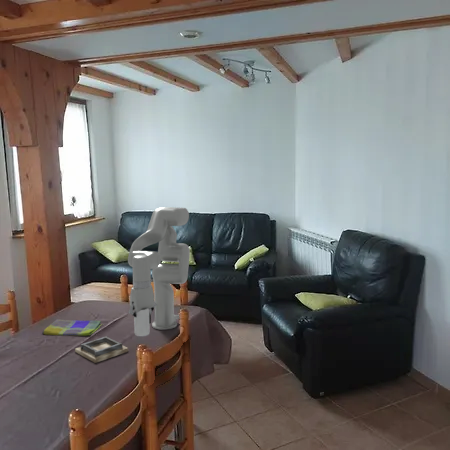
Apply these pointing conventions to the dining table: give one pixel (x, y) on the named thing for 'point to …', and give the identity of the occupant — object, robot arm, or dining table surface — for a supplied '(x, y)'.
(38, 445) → the dining table surface
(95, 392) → the dining table surface
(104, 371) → the dining table surface
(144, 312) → the can
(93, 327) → the dish towel
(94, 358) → the square tray
